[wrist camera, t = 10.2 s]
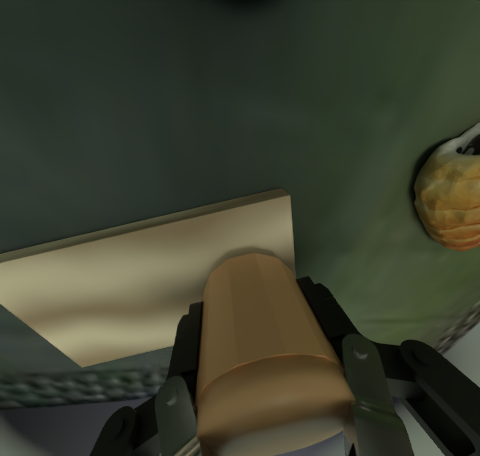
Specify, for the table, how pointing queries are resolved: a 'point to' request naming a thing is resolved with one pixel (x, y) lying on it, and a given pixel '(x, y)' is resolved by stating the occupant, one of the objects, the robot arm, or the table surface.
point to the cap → (264, 363)
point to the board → (137, 275)
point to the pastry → (452, 192)
